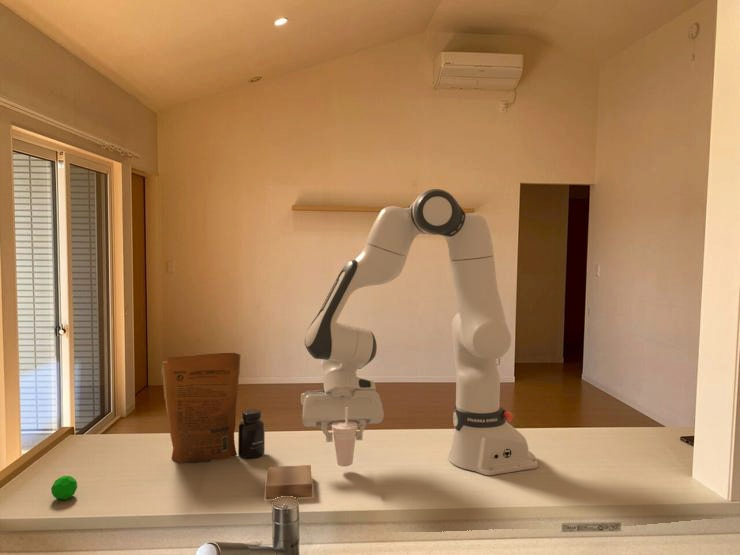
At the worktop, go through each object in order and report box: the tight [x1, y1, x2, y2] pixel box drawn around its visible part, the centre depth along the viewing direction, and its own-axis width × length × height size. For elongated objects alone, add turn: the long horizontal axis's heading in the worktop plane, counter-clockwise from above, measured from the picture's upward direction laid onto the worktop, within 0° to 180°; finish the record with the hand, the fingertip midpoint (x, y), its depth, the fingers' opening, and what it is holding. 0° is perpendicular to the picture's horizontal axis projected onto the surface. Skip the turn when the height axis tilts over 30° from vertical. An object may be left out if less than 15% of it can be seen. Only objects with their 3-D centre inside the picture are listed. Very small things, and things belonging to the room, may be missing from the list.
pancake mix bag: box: [161, 352, 241, 464], centre depth 143 cm, size 7×19×28 cm, turn 99°
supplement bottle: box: [237, 408, 266, 460], centre depth 146 cm, size 7×7×12 cm
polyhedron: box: [50, 475, 78, 501], centre depth 122 cm, size 5×5×5 cm
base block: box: [265, 464, 312, 499], centre depth 127 cm, size 10×10×3 cm
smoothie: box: [331, 407, 359, 467], centre depth 135 cm, size 6×6×14 cm
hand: (344, 440), depth 135 cm, fingers closed on smoothie, 6 cm apart
